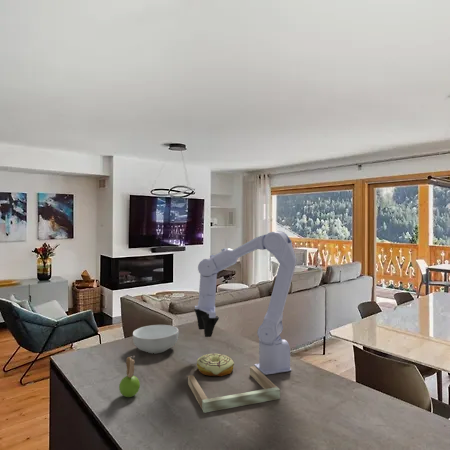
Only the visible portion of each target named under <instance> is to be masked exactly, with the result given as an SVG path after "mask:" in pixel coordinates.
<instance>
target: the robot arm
mask: <svg viewBox="0 0 450 450" xmlns="http://www.w3.org/2000/svg"><path fill="white" fill-rule="evenodd" d="M256 250H262V251H265V250H267V251H268V252H269V253H270V254H272V255H273V256H274V257H275V259H276V260H277V262H278V264H279V265H278V270H277V272H276V277H275V281H274V285H273V287H272V288H273V289H272V293H271V296H270V298H269V299H270V300H269V304H268V307H267V310H266V314H265V315H264V317H263V321H262V323H261V324H260V326H259V327H258V329H257V331H256V333H257V338H258V346H259V347H258V354H259V355H258V359H259V360H258V363H254V365H253V366H255V367H256V368H257V369H258V370H259V371H260V372H261V373H262V374H264V375H265V376H266V375H273V374H279V373H285V372H291V371H292V368H291V347H290V344H289V342H288V341H287V340H286V339H283V338H282V337H281V333H282V332H283V329H284V325H283V319H284V315H283V313H284V310H285V306H286V302H287V299H288V295H289V290H290V287H291V285H292V279H293V276H294V272H295V269H296V265H297V256H296V253H295V251H294V247H293V243H292V239H291V238H290V237H289V236H288V234H287V233H285V232H284V231H281V230H279V231H278V230H277V231H271V232H268V233H267V234H262V235H259V236H257V237H255V238H253V239H251V240H249V241H247V242H245V243H244V244H241V245H240V246H238V247H236V248H235V249H233V248H230V247H229V248H228V247H223V248H222V249H221V251H220V252H218V253H216V254H211V255H210V256H209V258H203V259H202V260H201V261H200V262H199V263H198V266H197V271H198V273H199V274H200V275H199V277H200V278H199V289H198V301H197V305H194V308H193V309H194V313H195V316H196V320H197V327H198V330H203V332H204V337H205V338H211V337H212V336H213V332H214V329H215V326H216V324H217V322H218V321H219V319H220V317H219V316H218V315H217V312H216V297H217V294H216V293H217V279H218V273H219V272H221V271H224V270H226V269H228V268H229V267H232V266H233V265H235V264H237V263H238V259H239V258H241V257H243V256H246V255H248V254H249V253H253V252H254V251H256Z"/></svg>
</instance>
